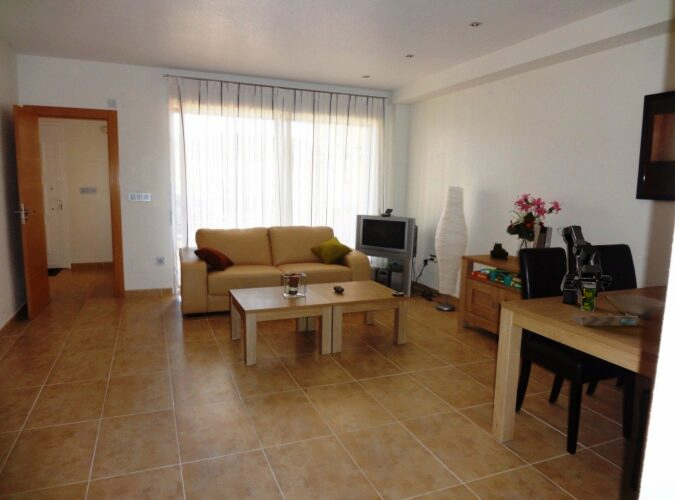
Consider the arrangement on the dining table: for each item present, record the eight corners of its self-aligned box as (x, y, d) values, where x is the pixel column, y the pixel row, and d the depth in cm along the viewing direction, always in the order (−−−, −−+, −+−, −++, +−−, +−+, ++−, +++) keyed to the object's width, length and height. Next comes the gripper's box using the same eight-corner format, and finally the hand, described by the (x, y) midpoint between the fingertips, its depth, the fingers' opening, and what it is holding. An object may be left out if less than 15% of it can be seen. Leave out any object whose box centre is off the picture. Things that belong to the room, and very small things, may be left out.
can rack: (581, 325, 200) (582, 316, 200) (571, 319, 209) (572, 311, 208) (637, 325, 200) (638, 316, 199) (625, 319, 209) (626, 310, 208)
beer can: (582, 307, 208) (584, 282, 206) (595, 310, 204) (597, 283, 202) (579, 310, 204) (581, 284, 202) (592, 313, 200) (595, 286, 198)
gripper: (566, 256, 206) (570, 286, 197) (612, 258, 201) (618, 288, 193) (561, 269, 215) (564, 299, 206) (605, 271, 210) (611, 301, 202)
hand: (589, 296), depth 202 cm, fingers closed on beer can, 5 cm apart
